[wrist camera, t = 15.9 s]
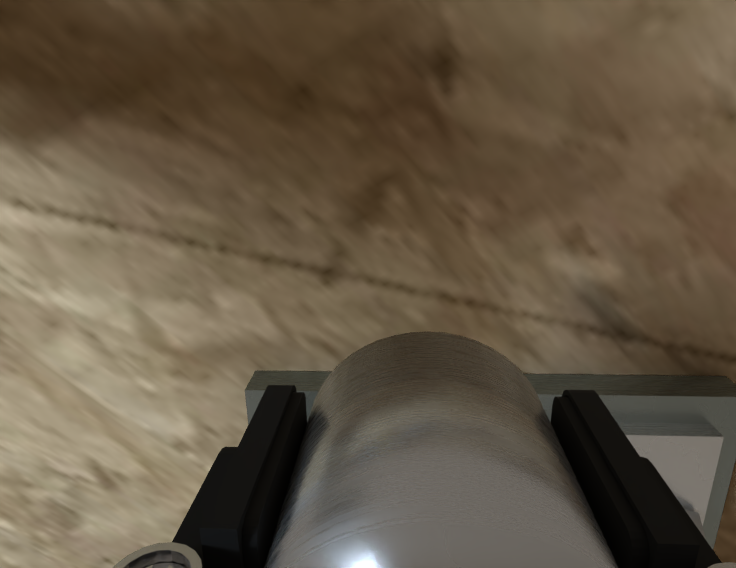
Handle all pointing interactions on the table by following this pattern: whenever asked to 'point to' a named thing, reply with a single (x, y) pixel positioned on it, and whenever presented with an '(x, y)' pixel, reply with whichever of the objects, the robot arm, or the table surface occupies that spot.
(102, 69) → the table surface
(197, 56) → the table surface
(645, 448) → the scale
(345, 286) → the table surface
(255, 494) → the robot arm
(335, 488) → the silver jar with knob
